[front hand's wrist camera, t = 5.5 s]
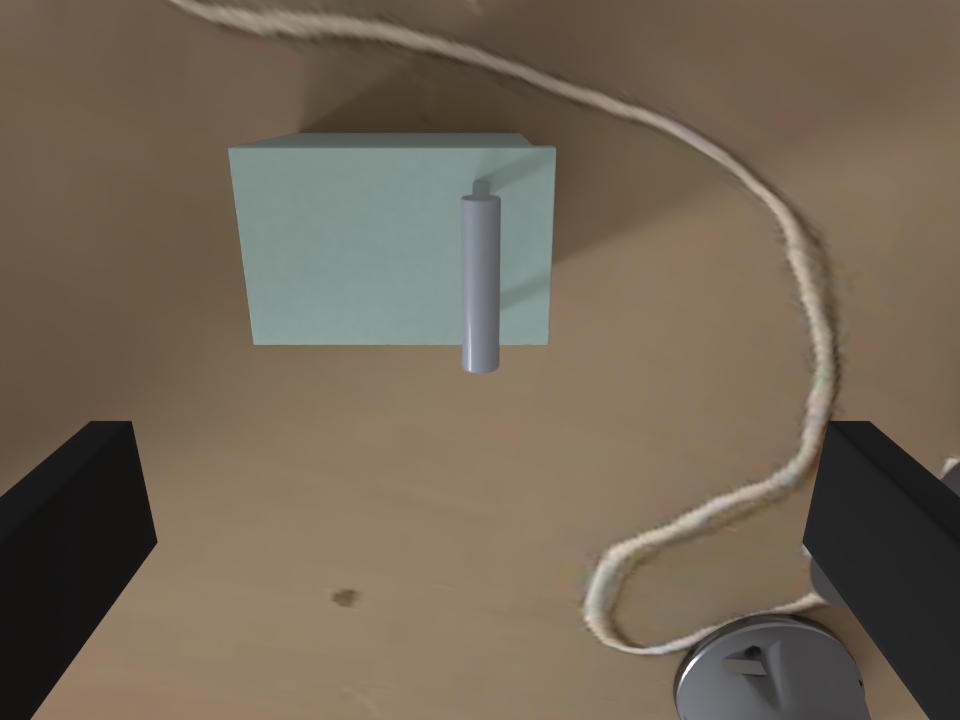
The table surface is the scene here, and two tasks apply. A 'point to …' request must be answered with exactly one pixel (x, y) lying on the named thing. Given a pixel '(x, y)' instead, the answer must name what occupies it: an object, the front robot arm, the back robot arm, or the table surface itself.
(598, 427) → the table surface
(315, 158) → the lid
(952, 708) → the front robot arm
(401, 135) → the chest
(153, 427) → the table surface
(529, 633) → the table surface
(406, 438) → the table surface
